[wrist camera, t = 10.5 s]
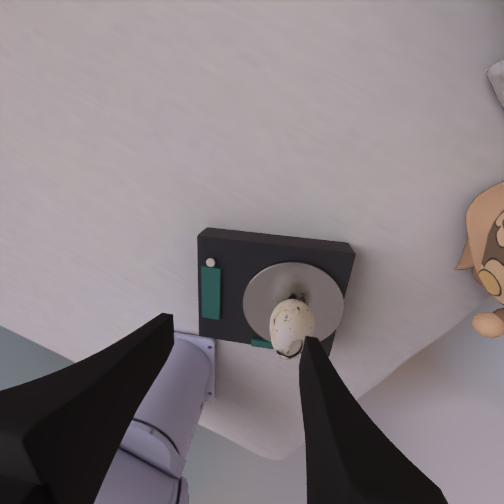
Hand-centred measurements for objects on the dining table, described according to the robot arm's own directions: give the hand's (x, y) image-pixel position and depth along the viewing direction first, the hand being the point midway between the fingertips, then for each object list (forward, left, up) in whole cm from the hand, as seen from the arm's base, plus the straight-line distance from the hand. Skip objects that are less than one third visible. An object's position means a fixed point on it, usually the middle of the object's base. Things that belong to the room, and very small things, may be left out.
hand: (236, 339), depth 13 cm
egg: (-2, -3, -6) cm, 8 cm away
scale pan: (-2, -3, -7) cm, 8 cm away
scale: (-2, -1, -9) cm, 10 cm away
